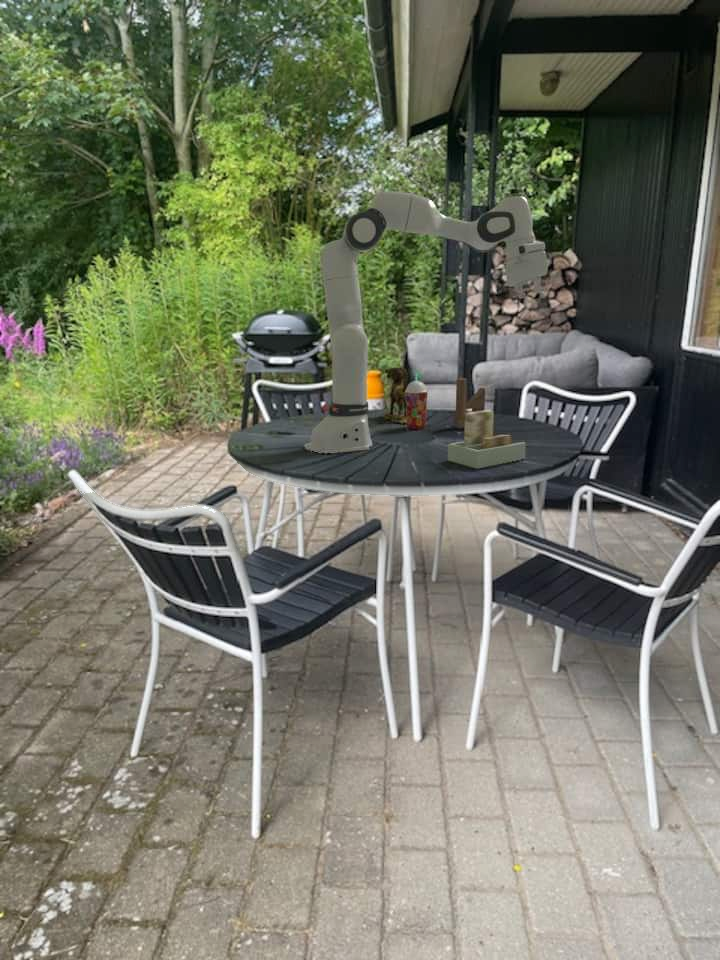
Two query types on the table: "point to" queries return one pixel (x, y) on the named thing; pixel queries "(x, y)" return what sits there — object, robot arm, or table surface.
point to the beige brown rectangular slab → (478, 426)
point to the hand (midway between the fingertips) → (529, 295)
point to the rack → (485, 454)
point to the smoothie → (416, 404)
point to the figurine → (397, 394)
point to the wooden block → (474, 403)
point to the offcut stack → (496, 441)
